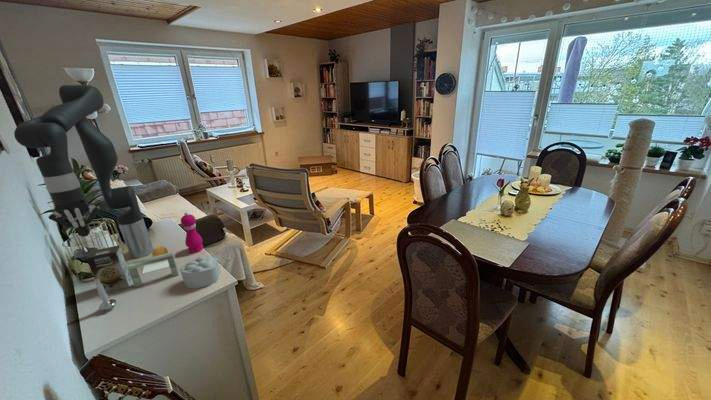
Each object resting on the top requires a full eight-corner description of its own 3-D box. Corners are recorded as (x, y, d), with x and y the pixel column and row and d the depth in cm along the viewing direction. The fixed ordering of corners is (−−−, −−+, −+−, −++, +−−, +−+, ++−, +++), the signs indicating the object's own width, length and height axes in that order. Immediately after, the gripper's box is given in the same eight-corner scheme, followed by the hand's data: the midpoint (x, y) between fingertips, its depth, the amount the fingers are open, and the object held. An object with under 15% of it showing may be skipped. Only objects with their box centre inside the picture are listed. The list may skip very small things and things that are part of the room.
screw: (120, 302, 105) (113, 312, 100) (105, 305, 104) (97, 314, 99) (108, 273, 100) (99, 282, 95) (92, 275, 99) (83, 284, 95)
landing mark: (145, 260, 131) (145, 260, 131) (175, 252, 136) (175, 252, 136) (142, 274, 121) (142, 273, 121) (174, 265, 126) (174, 264, 126)
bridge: (136, 283, 115) (128, 263, 112) (178, 271, 122) (172, 252, 118) (135, 287, 113) (127, 267, 109) (178, 275, 119) (172, 255, 116)
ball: (151, 246, 131) (149, 253, 126) (166, 242, 133) (165, 249, 128) (155, 256, 133) (153, 263, 129) (170, 252, 136) (169, 260, 131)
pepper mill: (207, 248, 139) (197, 210, 132) (193, 255, 134) (182, 216, 126) (199, 244, 143) (189, 208, 136) (184, 251, 137) (173, 213, 130)
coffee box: (100, 294, 110) (84, 258, 104) (105, 284, 115) (90, 250, 109) (129, 286, 113) (115, 251, 108) (132, 277, 119) (119, 244, 113)
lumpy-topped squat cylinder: (218, 284, 113) (213, 265, 110) (181, 291, 110) (175, 273, 106) (221, 269, 123) (217, 252, 119) (187, 276, 119) (182, 258, 116)
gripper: (94, 180, 97) (111, 226, 103) (40, 188, 91) (63, 236, 97) (88, 186, 90) (107, 234, 97) (30, 195, 84) (55, 245, 91)
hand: (85, 235), depth 97 cm, fingers closed
